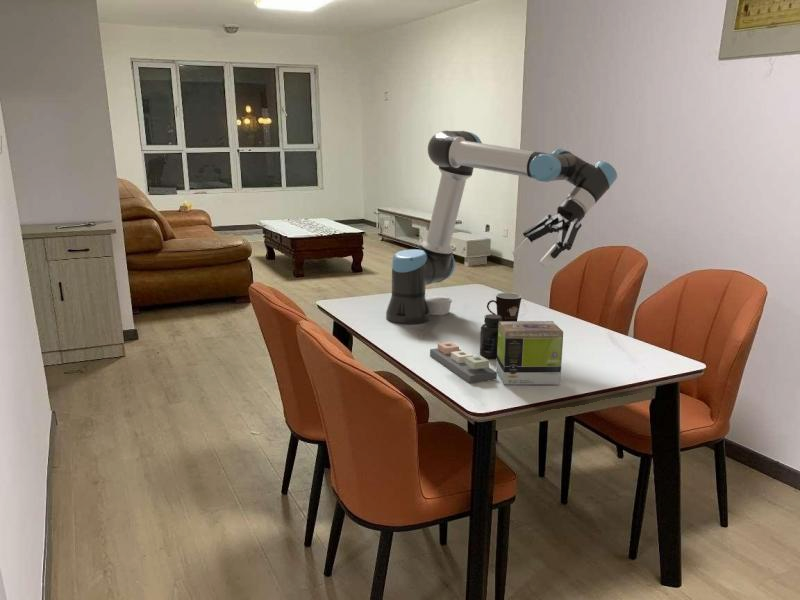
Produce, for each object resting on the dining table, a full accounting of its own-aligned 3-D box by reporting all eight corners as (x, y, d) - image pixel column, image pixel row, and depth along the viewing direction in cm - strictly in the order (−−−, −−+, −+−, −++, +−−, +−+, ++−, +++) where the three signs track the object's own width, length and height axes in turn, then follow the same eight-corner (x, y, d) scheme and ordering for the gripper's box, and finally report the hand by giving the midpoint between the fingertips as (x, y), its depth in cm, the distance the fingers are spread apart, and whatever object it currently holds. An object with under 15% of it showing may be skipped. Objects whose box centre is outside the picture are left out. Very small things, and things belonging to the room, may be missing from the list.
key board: (429, 355, 183) (430, 349, 183) (454, 352, 187) (454, 346, 186) (469, 383, 163) (470, 376, 163) (496, 379, 166) (496, 372, 166)
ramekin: (446, 318, 224) (447, 303, 222) (416, 314, 227) (417, 300, 226) (454, 310, 234) (454, 296, 233) (425, 307, 237) (425, 293, 236)
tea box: (549, 372, 173) (554, 320, 169) (560, 386, 163) (565, 331, 159) (495, 371, 172) (498, 319, 168) (502, 385, 162) (505, 330, 159)
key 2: (465, 363, 168) (465, 356, 168) (479, 361, 170) (480, 355, 169) (473, 369, 164) (474, 362, 164) (488, 367, 166) (489, 360, 165)
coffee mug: (518, 321, 221) (520, 293, 219) (520, 328, 213) (522, 299, 211) (485, 319, 222) (486, 291, 220) (485, 326, 214) (487, 297, 212)
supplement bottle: (484, 350, 189) (487, 311, 186) (506, 354, 186) (509, 315, 183) (475, 356, 183) (477, 316, 181) (497, 361, 180) (500, 320, 177)
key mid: (450, 358, 175) (451, 351, 175) (465, 356, 177) (465, 350, 177) (458, 363, 171) (459, 356, 171) (473, 361, 173) (473, 354, 173)
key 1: (437, 349, 183) (437, 343, 182) (451, 347, 184) (451, 341, 184) (444, 354, 179) (445, 347, 178) (458, 352, 180) (459, 346, 180)
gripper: (611, 221, 175) (562, 277, 172) (555, 211, 197) (511, 261, 194) (598, 201, 171) (548, 259, 169) (542, 194, 193) (497, 244, 191)
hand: (528, 260), depth 182 cm, fingers open, 13 cm apart
